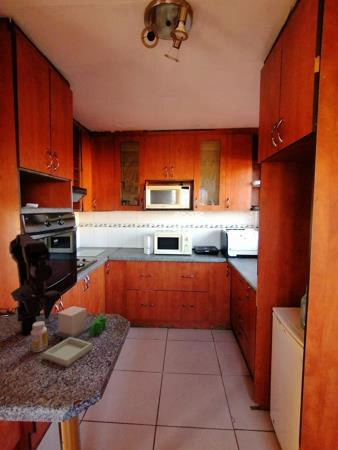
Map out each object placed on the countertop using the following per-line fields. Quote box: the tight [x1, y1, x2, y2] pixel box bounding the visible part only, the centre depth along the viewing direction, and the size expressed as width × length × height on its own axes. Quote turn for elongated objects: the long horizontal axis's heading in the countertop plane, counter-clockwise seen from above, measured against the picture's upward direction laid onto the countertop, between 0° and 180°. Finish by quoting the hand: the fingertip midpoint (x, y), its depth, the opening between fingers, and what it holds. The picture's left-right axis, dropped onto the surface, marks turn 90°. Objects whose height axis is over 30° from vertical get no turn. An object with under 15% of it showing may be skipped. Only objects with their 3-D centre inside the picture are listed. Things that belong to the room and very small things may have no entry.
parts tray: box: [42, 337, 94, 368], centre depth 88 cm, size 12×12×2 cm
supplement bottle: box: [30, 320, 49, 353], centre depth 92 cm, size 5×5×10 cm
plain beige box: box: [52, 305, 91, 339], centre depth 105 cm, size 11×11×9 cm
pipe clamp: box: [89, 314, 107, 338], centre depth 106 cm, size 11×4×5 cm, turn 173°
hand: (38, 316), depth 92 cm, fingers open, 9 cm apart
